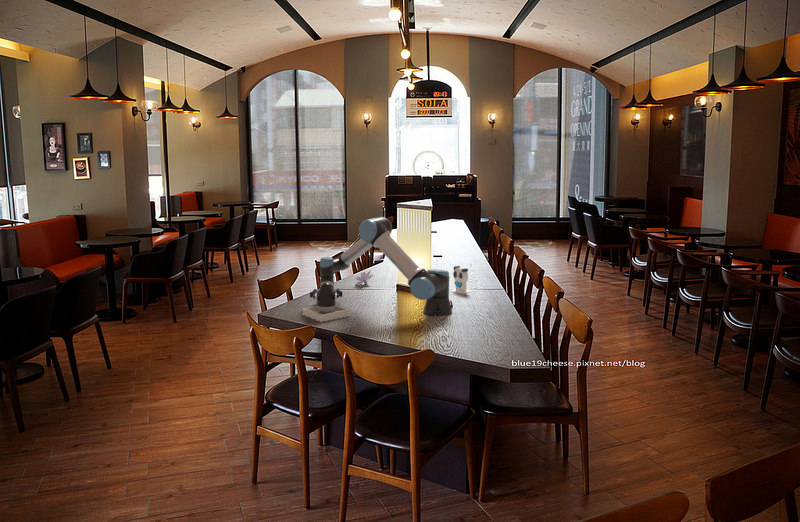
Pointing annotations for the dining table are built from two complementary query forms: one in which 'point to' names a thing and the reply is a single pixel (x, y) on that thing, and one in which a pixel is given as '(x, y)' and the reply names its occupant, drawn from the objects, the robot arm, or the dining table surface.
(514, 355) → the dining table surface
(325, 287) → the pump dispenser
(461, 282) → the panda figurine
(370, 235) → the robot arm
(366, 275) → the water lily
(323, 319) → the tray
